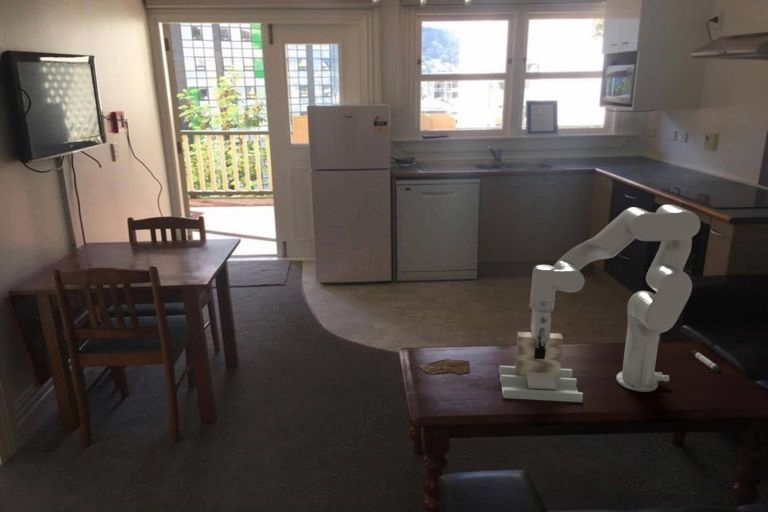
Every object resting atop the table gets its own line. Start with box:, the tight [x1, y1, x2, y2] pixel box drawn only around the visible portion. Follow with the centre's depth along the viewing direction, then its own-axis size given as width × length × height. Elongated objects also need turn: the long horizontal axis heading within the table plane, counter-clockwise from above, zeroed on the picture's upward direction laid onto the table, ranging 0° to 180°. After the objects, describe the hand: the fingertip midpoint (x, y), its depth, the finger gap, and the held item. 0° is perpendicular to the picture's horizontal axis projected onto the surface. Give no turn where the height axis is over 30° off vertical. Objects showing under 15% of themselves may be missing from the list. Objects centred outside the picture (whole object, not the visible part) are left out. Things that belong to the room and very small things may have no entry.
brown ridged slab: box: [418, 358, 471, 375], centre depth 196 cm, size 26×11×1 cm, turn 91°
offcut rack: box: [498, 365, 584, 403], centre depth 180 cm, size 24×18×4 cm
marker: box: [690, 349, 722, 373], centre depth 198 cm, size 15×2×2 cm, turn 4°
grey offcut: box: [527, 372, 556, 389], centre depth 176 cm, size 8×6×2 cm
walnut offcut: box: [526, 381, 555, 391], centre depth 177 cm, size 8×6×2 cm
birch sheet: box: [514, 331, 564, 378], centre depth 183 cm, size 14×4×16 cm, turn 83°
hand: (537, 351), depth 182 cm, fingers open, 9 cm apart
